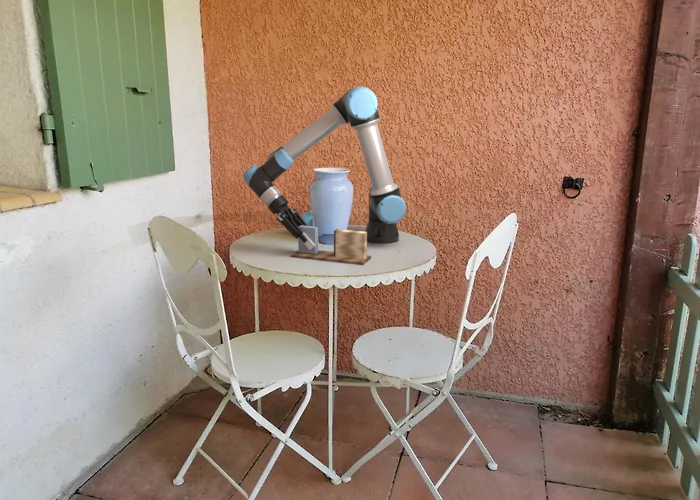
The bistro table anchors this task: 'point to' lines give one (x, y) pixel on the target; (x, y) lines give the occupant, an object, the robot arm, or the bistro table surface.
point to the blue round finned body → (308, 218)
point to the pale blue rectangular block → (312, 235)
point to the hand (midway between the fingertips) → (314, 246)
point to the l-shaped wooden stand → (343, 249)
